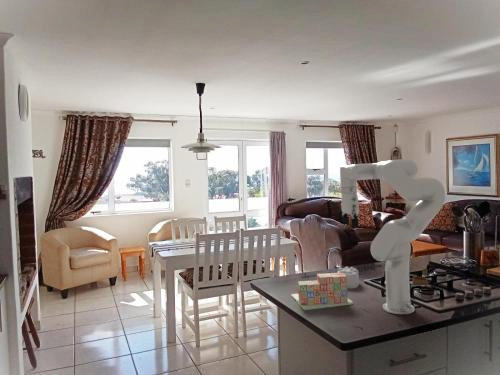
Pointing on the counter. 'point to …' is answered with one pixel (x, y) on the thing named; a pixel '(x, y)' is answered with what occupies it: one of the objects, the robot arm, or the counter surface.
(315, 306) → the sage mat
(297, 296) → the cream mat
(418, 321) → the counter surface
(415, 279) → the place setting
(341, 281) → the stack of blocks
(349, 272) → the grey animal paw
